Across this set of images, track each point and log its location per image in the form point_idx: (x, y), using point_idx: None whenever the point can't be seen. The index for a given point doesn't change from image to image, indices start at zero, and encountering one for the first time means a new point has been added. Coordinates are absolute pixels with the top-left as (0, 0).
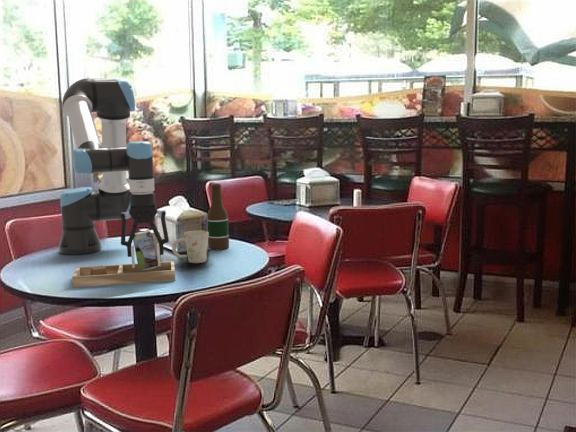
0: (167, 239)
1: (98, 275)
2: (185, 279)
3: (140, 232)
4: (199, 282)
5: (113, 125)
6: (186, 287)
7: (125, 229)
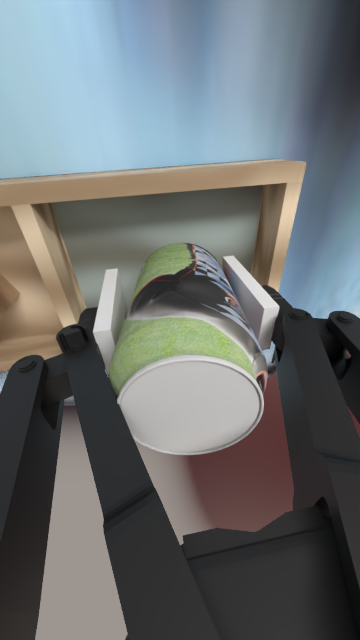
0: (337, 362)
1: (8, 368)
2: (289, 266)
3: (173, 388)
4: (314, 303)
5: None
6: (271, 341)
7: (48, 515)
